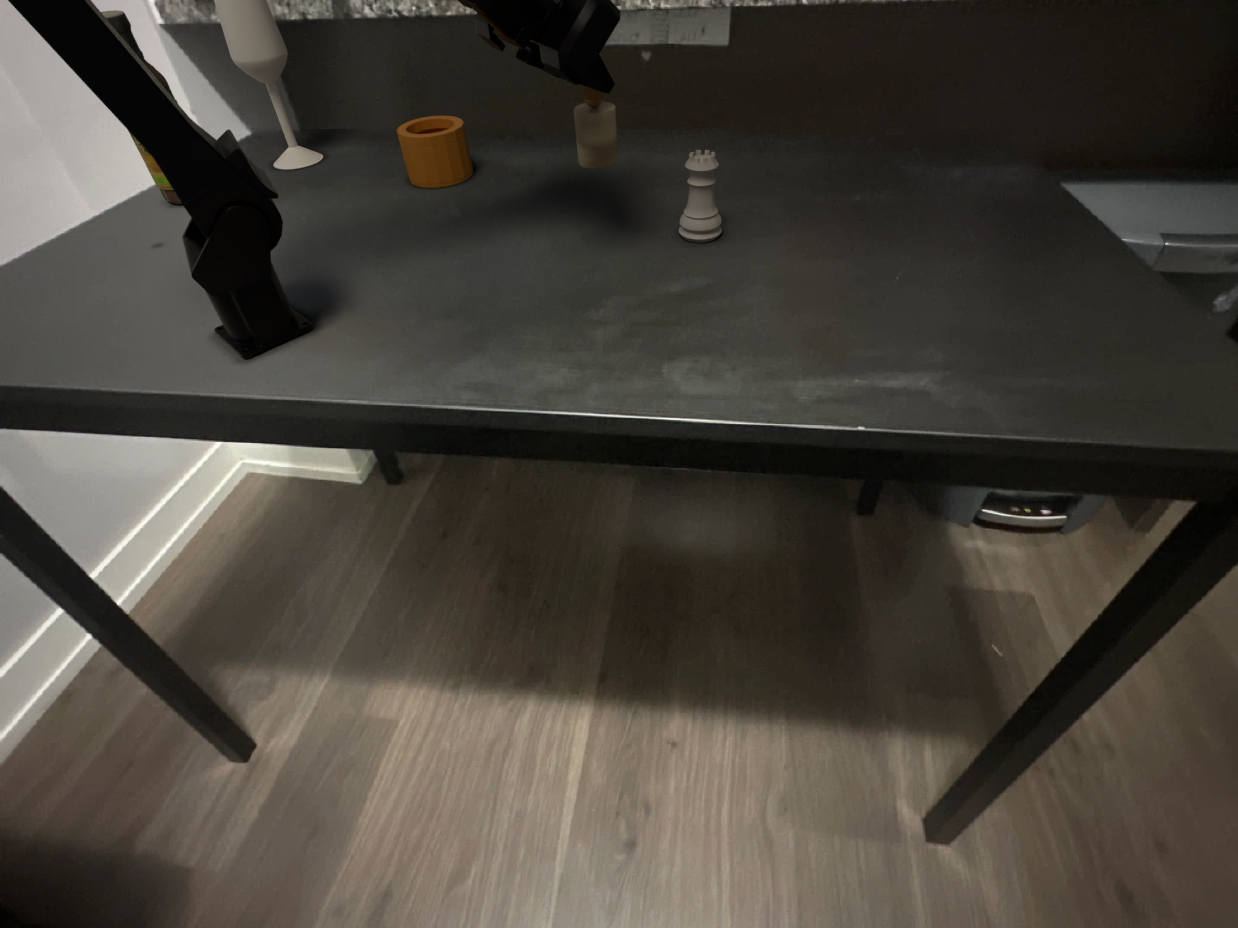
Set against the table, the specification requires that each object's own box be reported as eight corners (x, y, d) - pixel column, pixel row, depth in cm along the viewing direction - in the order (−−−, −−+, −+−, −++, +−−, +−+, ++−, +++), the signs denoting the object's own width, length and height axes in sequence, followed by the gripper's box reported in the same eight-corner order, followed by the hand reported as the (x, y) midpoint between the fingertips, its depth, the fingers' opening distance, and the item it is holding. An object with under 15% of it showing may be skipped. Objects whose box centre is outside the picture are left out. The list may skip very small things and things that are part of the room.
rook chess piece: (730, 232, 71) (735, 151, 65) (704, 248, 68) (706, 166, 63) (696, 221, 73) (698, 142, 68) (669, 236, 71) (669, 156, 65)
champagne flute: (280, 154, 97) (200, -56, 81) (327, 149, 98) (257, -61, 81) (267, 171, 92) (179, -49, 76) (317, 166, 93) (240, -54, 76)
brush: (626, 158, 69) (618, 4, 60) (603, 171, 66) (592, 13, 57) (593, 152, 70) (582, 2, 61) (570, 165, 68) (554, 10, 59)
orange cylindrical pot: (485, 173, 87) (476, 122, 83) (433, 193, 83) (420, 141, 79) (449, 160, 91) (439, 111, 87) (398, 178, 88) (384, 128, 83)
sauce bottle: (161, 196, 88) (66, 14, 74) (211, 183, 90) (129, 4, 77) (171, 211, 84) (73, 21, 70) (223, 197, 86) (139, 11, 73)
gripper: (587, -150, 45) (716, 20, 56) (482, -146, 57) (606, -7, 68) (497, 10, 48) (638, 141, 59) (416, -19, 60) (545, 94, 71)
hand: (605, 86), depth 64 cm, fingers closed on brush, 2 cm apart
